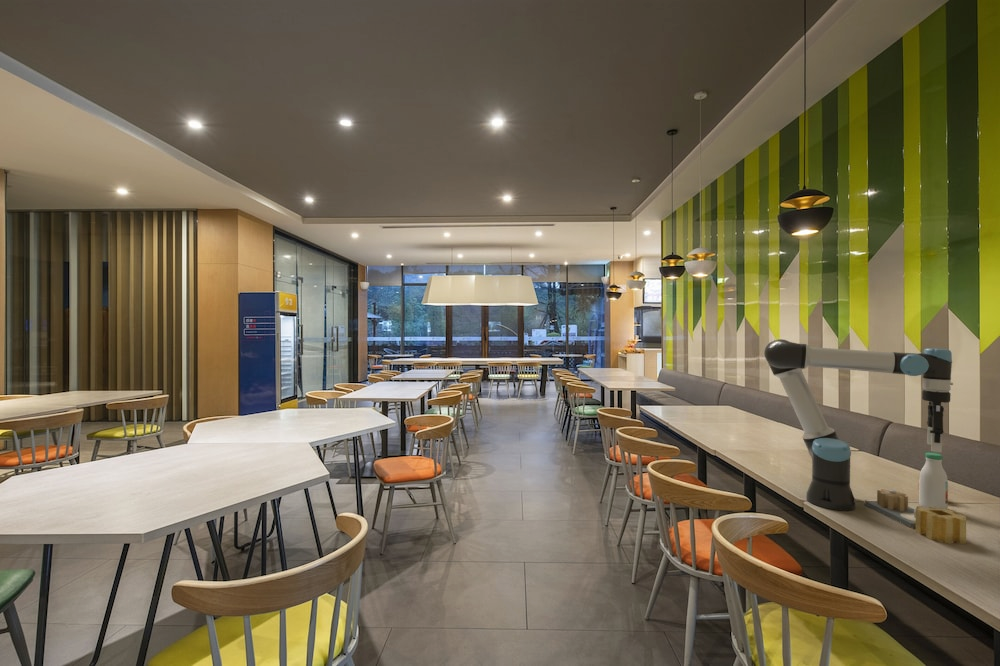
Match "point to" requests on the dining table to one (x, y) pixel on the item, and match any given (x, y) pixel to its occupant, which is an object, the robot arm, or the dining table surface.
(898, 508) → the gear board
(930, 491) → the milk bottle
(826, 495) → the robot arm
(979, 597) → the dining table surface
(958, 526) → the gear
